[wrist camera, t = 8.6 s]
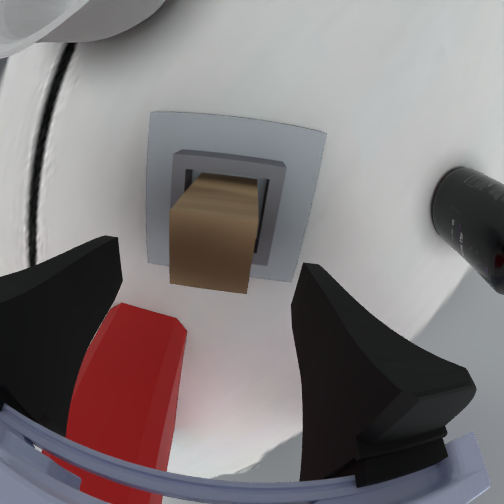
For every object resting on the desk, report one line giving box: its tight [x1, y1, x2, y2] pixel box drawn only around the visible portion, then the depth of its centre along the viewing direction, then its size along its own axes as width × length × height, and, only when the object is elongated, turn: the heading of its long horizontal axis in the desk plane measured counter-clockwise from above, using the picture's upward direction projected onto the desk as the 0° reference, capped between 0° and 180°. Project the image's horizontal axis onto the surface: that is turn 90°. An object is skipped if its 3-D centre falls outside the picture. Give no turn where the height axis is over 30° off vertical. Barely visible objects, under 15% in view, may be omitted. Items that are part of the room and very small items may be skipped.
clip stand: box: [146, 112, 327, 282], centre depth 17 cm, size 11×11×3 cm
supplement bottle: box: [433, 168, 504, 295], centre depth 12 cm, size 7×7×12 cm
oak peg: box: [169, 172, 258, 294], centre depth 14 cm, size 4×4×7 cm
